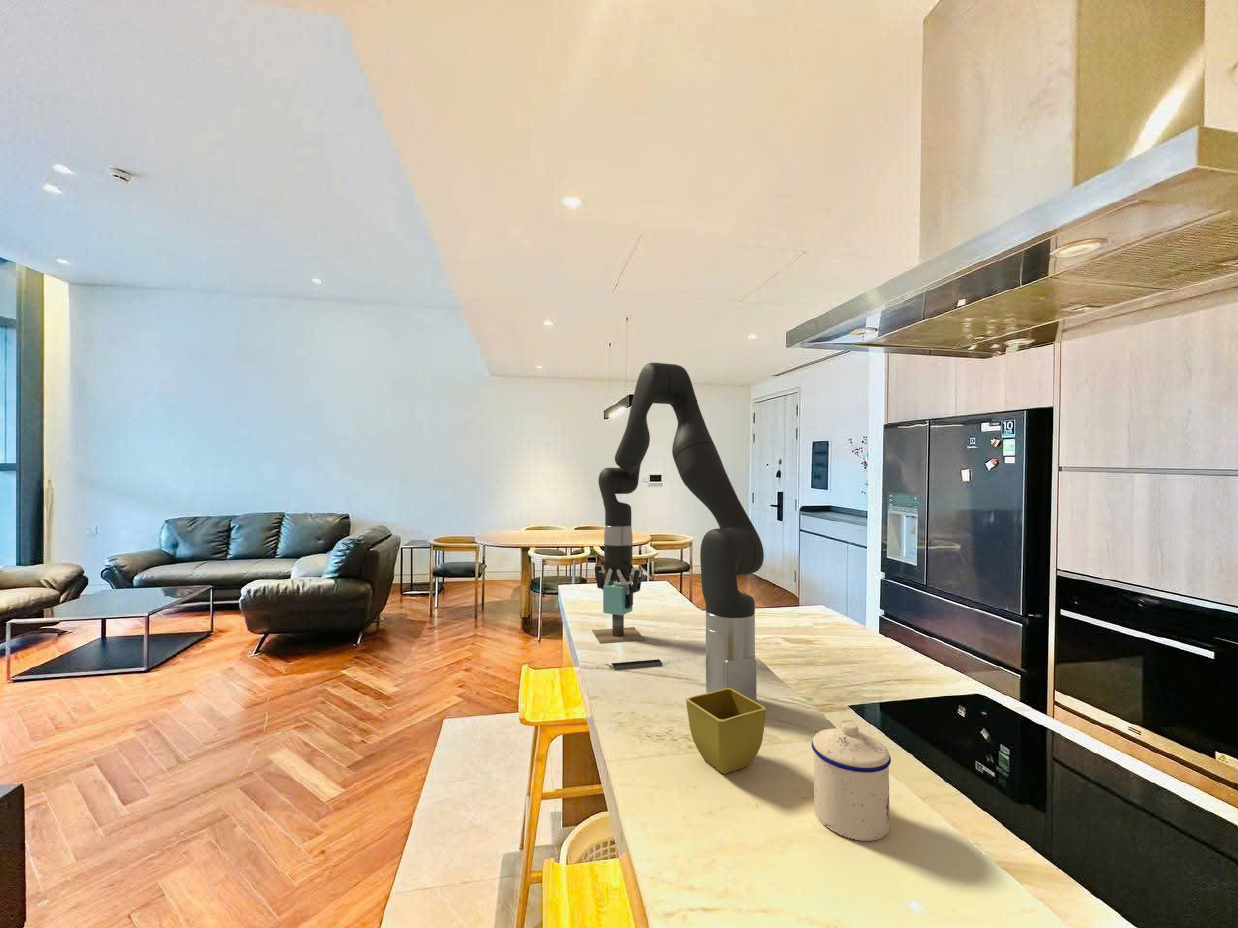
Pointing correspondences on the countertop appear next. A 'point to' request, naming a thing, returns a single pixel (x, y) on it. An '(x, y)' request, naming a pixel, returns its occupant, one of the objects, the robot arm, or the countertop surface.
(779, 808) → the countertop surface
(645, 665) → the mat
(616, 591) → the striped teal box
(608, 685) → the countertop surface
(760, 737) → the flower pot
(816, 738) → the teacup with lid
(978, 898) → the countertop surface
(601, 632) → the post base
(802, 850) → the countertop surface
